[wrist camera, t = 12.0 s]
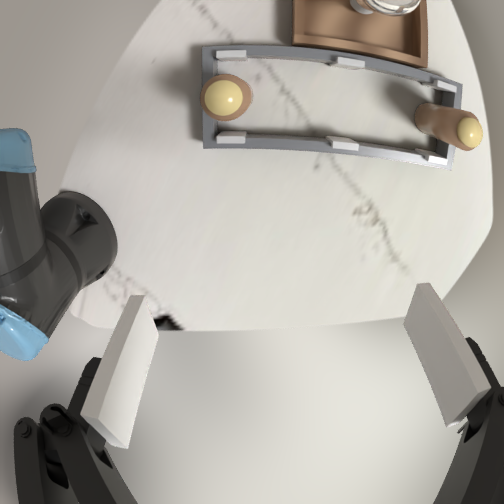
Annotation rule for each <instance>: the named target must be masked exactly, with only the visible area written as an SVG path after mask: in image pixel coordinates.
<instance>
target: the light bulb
mask: <svg viewBox="0 0 504 504" xmlns="http://www.w3.org/2000/svg"><path fill="white" fill-rule="evenodd" d="M420 1H421V0H350V4H351V6H352V7H353V8H354V9H355V10H356V11H358V12H359V13H362V14H371V13H373V12H374V13H377V14H379V15H383V16H389V17H399V16H403V15H407V14H409V13H410V12H412V11H413V10H415V9H416V7H417V6H418V5H419V3H420Z"/></svg>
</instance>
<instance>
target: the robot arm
mask: <svg viewBox="0 0 504 504" xmlns="http://www.w3.org/2000/svg"><path fill="white" fill-rule="evenodd" d="M35 172H36V166H35V165H34V161H33V153H32V145H31V139H30V137H29V135H28V134H27V132H25V131H24V130H22V129H18V128H9V129H0V351H2V352H3V353H5V354H7V355H9V356H11V357H13V358H15V359H18V360H23V361H28V360H32V359H33V358H35V357H36V356H37V354H38V353H39V352H40V350H41V349H42V347H43V346H44V344H46V343H48V341H49V338H50V336H51V335H52V333H53V331H54V330H55V328H56V326H57V325H58V323H59V321H60V320H61V318H62V317H63V315H64V314H65V312H66V311H67V309H68V307H69V306H70V304H71V303H72V301H73V300H74V298H75V297H76V295H77V294H78V293H79V291H80V290H81V289H83V288H85V287H86V286H88V285H90V284H92V283H93V282H95V281H97V280H98V279H100V278H101V277H103V276H104V275H105V274H106V273H107V271H108V270H109V269H110V267H111V266H112V264H113V263H114V261H115V258H116V255H117V238H116V234H115V230H114V228H113V225H112V223H111V221H110V219H109V218H108V216H107V215H106V213H105V212H104V211H103V210H102V208H101V207H100V206H99V205H98V204H96V203H95V202H94V201H93V200H91V199H90V198H88V197H86V196H84V195H82V194H79V193H75V192H64V193H60V194H58V195H56V196H55V197H53V198H52V199H50V200H49V201H48V202H47V203H45V204H44V206H43V207H42V208H41V210H40V205H39V199H38V193H37V185H36V175H35ZM403 324H404V327H405V329H406V331H407V333H408V335H409V337H410V339H411V341H412V344H413V345H414V348H415V350H416V352H417V355H418V357H419V359H420V361H421V363H422V366H423V368H424V371H425V373H426V375H427V378H428V380H429V383H430V385H431V388H432V390H433V393H434V395H435V398H436V400H437V403H438V405H439V408H440V411H441V413H442V416H443V419H444V422H445V425H446V427H449V426H452V425H455V424H457V423H460V422H461V421H462V420H463V419H464V417H466V416H467V419H468V421H467V422H466V423H465V424H464V425H463V426H462V427H461V428H460V429H459V430H458V432H457V433H460V432H461V431H462V430H463V429H464V430H463V433H462V437H461V439H460V442H459V445H458V448H457V450H456V453H455V456H454V459H453V461H452V464H451V466H450V468H449V471H448V473H447V475H446V478H445V480H444V482H443V485H442V487H441V489H440V491H439V493H438V495H437V497H436V499H435V501H434V503H433V504H504V387H501V386H500V384H499V383H498V381H497V379H496V377H495V375H494V373H493V371H492V369H491V368H490V366H489V364H488V362H487V361H486V358H485V356H484V355H483V354H482V351H481V350H480V348H479V346H478V344H477V343H476V342H475V341H474V340H472V339H471V338H470V337H468V338H464V336H463V334H462V333H461V331H460V329H459V328H458V326H457V324H456V323H455V321H454V319H453V318H452V316H451V315H450V313H449V312H448V310H447V309H446V307H445V305H444V304H443V302H442V301H441V299H440V298H439V296H438V295H437V293H436V292H435V290H434V289H433V287H432V286H431V284H430V283H421V284H417V286H416V289H415V292H414V295H413V298H412V301H411V304H410V307H409V310H408V312H407V315H406V318H405V321H404V323H403ZM158 337H159V334H158V331H157V329H156V326H155V323H154V320H153V317H152V315H151V312H150V309H149V306H148V303H147V300H146V297H145V295H131V296H130V298H129V300H128V302H127V304H126V306H125V308H124V310H123V313H122V315H121V317H120V319H119V321H118V323H117V325H116V328H115V330H114V332H113V335H112V337H111V339H110V342H109V343H108V346H107V348H106V350H105V353H104V355H103V357H102V358H96V357H93V358H92V359H91V360H90V361H89V362H88V363H87V365H86V366H85V368H84V370H83V373H82V377H81V378H80V380H79V382H78V385H77V387H76V390H75V392H74V394H73V397H72V399H71V402H70V404H69V407H68V409H67V410H66V409H65V408H64V407H63V406H62V405H60V404H50V405H48V406H47V407H46V408H44V410H43V411H42V412H41V415H40V423H38V424H37V423H36V422H35V421H34V420H33V419H31V418H29V417H24V418H21V419H20V420H19V421H18V422H17V423H16V425H15V428H14V459H15V474H16V484H17V493H18V500H19V504H78V502H79V504H137V502H136V500H135V499H134V497H133V495H132V494H131V492H130V491H129V489H128V487H127V486H126V484H125V482H124V481H123V479H122V477H121V475H120V474H119V472H118V470H117V468H116V466H115V465H114V463H113V461H112V459H111V457H110V455H109V453H108V451H107V450H106V448H105V447H104V445H105V442H106V441H107V442H108V443H110V444H111V445H112V446H116V447H121V448H126V449H128V446H129V442H130V438H131V434H132V430H133V426H134V422H135V418H136V414H137V410H138V406H139V402H140V398H141V395H142V391H143V388H144V384H145V381H146V377H147V374H148V370H149V367H150V363H151V360H152V357H153V353H154V350H155V346H156V343H157V340H158Z"/></svg>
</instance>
